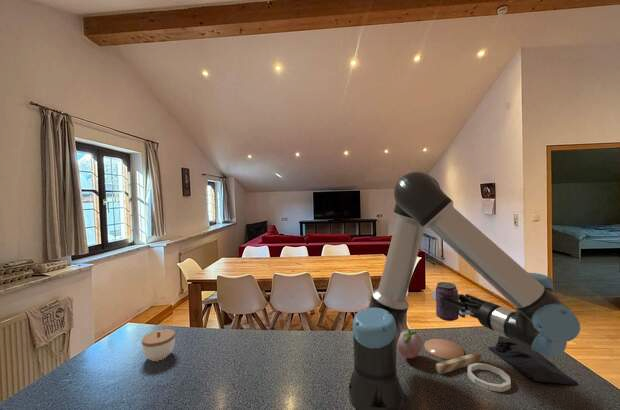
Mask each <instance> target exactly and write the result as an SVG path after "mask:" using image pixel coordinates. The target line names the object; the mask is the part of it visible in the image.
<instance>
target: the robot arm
mask: <svg viewBox="0 0 620 410" xmlns="http://www.w3.org/2000/svg"><path fill="white" fill-rule="evenodd" d="M393 197H394V201H395V205H394V208H393V211H392V212H393V214H394V215H393V216H395V218H396V222H395V224H394V229H393V233H392V236H391V241H390V243H389V248H388V252H387V255H386V258H385V259H386V260H385V263H384V266H383V271H382V274H381V277H380V278H381V279H380V281H379V286H378V288H376V289H375V290H373V291H372V293H371V296H370V297H371V298H370V301H369V304H368V307H367V308H365V309H360V311H358V312H357V313H356V314H355V315H354V318H353V322H352V336H353V339H352V340H353V341H352V343H353V370H352V373H351V377H350V380H349V383H348V389H347V390H348V398H349V399H348V400H349V402H350V403H351V405H352V406H353V408H355V410H402V409H403V407H404V401H405V400H404V391H403V388H402V385H401V383H400V380H399V377H398V373H397V343H398V340H399V337H400V334H401V332H403V331H402V330H403V328H404V326H405V323H406V319H407V318H406V317H407V314H408V310H409V305H410V304H409V301H408V300H407V299H406V298H407V295H408V294H407V293H408V290H409V286H410V283H411V281H412V280H411V279H412V275H413V272H414V268H415V265H416V262H417V258H418V254H419V251H420V248H421V244H422V240H423V237H424V232H425V229H431V231H433V232H434V233H435V234H436V235H437V236H438V237H439V238H440V239H441V240H442V241H443V242H444V243H446V244H447V245H448V246H449V247H450V248H451V249H452V250H453V251H454V252H455V253H456V254H457V255H458V256H459V257H460V258H462V259H463V260H464V261H465V262H466V263H467V264H468V265H469V266H470V267H471V268H473V269H474V271H476V272H477V273H478V274H479V275H480V276H481V277H482V278H483V279H484V280H486V281H487V282H488V283H489V284H490V285H491V286H492V287H493V288H494V289H496V291H497V292H498V293H499V294H500V295H501V296H503V298H505V299H506V300H507V301H508V302H509V303H510V304H512V306H514V307H515V308H516V309H515V310H513V309H510V308H507V307H504V306H501V305H499V304H496V303H494V302H491V301H490V302H489V301H487V300H485V299H481V298H479V297H476V296H474V295H471V294H468V293H467V294H463V293H461V294H460V293H458V301H457V300H453V299H450V298H445V296H444V299H441V306H442V307H444V308H446V309H448V310H450V311H452V312H454V313H456V314H458V316H459V317H461V318H466V316H470V317H472V318H475V319H477V320H478V322H479V324H480V325H481V326H483V327H485V328H486V329H489V330H492V331H494V332H496V333H498V334H500V335H502V336H503V337H506V338H510V339H512V340H514V341H516V342H518V343H520V344H522V345H524V346H526V347H528V348H530V349H532V350H533V351H536V352H538V353H540V354H541V355H543V356H547V357H549V358H557V357H560V356H561V355H563V353H564V352H565V350H566V348H567V344H568V342H570V341H573V340H574V339H576V338H577V337H578V336H579V334H580V332H581V323H580V320H579V319H578V317H577V316H576V315H575V312H574V311H572V310H571V309H570V308H569V307H568V306H566V304H565V303H563V302H562V300H560V299H559V298H558V296H556V295H555V294H554V290H555V287H554V280H553V278H552V277H550V276H548V275H545V274H542V273H536V272H528V271H527V270H526V269H524V267H523V266H521V265H520V264H519V263H517V262H516V261H515V260H514V259H513V258H512V257H511V256H510V255H509V254H508V253H506V252H505V251H504V250H503V249H502V248H500V247H499V246H498V244H496V243H495V242H494V241H493V240H492V239H490V237H488V236H487V235H486V234H485V233H483V232H482V231H481V230H480V229H479V228H478V227H477V226H476V225H475V224H473V223H472V222H471V221H470V220H468V218H466V217H465V216H464V215H463V214H462V213H461V212H459V211H458V210H457V208H455V207H454V201H453V200H452V198H451V197H449V196H448V195H447V194H446V193H445V192H444V191H443V190H442V189H441V186H440V183H439V182H438V181H437V180H436V179H435V178H434V177H433V176H431V175H430V174H428V173H426V172H421V171H411V172H408V173H406V174H404V175H403V176H401V177H399V179H398V180H397V182H396V184H395V186H394V188H393ZM431 298H432V299H433V300H436V290H431Z"/></svg>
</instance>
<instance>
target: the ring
mask: <svg viewBox="0 0 620 410" xmlns="http://www.w3.org/2000/svg"><path fill="white" fill-rule="evenodd" d="M477 370H482V371H489V372H492V373H494V374H496V375H498V376H499V377H500V378H502V379H504V381H505V382H502V383H500V384H499V383H493V382H488V381H485V380H483V379H481V378H478V377H477V376H476V375H475V374H474V373H473V372H474V371H477ZM466 372H467V378H468V379H469V380H470V381H471V382H472V383H474V384H475V385H477V387H478V386H479V387H481V388H483V389H484V390H488V391H491V392H492V391H493V392H500V393H504V392H505V391H508V390H510V389H511V388H512V382H511V381H512V380H511V376H510V375H509V374H508V373H506V371H504V370H503V369H501V368H499V367H497V366H494V365H491V364H488V363H481V362H479V363H474V364H471V365H468V366H467V371H466Z"/></svg>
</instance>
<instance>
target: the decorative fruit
mask: <svg viewBox="0 0 620 410" xmlns="http://www.w3.org/2000/svg"><path fill="white" fill-rule="evenodd" d="M422 347H423V340H422V339H421V337H420V335H419V334H418V333H417V331H416V330H415V329H409V330H404V331H401V334H400V337H399V340H398V343H397V346H396V349H397V350H398V352H399V353H400V354H401V355H402V356H403V357H404V358H406V359H410V360H411V359H415V358H417V357H418V356H419V354H420V352H421V350H422Z"/></svg>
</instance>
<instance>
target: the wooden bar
mask: <svg viewBox="0 0 620 410" xmlns="http://www.w3.org/2000/svg"><path fill="white" fill-rule="evenodd" d="M482 357H483V355H482V353H480V352H478V351H475V352H473V353H468V354H466V355H465V354H464V356H461V357H458V358H454V359H451V360H445V361H441V362H438V363H435V372H436V373H437V374H439V375H442V374H446V373H449V372H452V371H455V370H460V369H463V368H465V367H468V365H471V364H474V363H481V362H482V361H483V358H482Z"/></svg>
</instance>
